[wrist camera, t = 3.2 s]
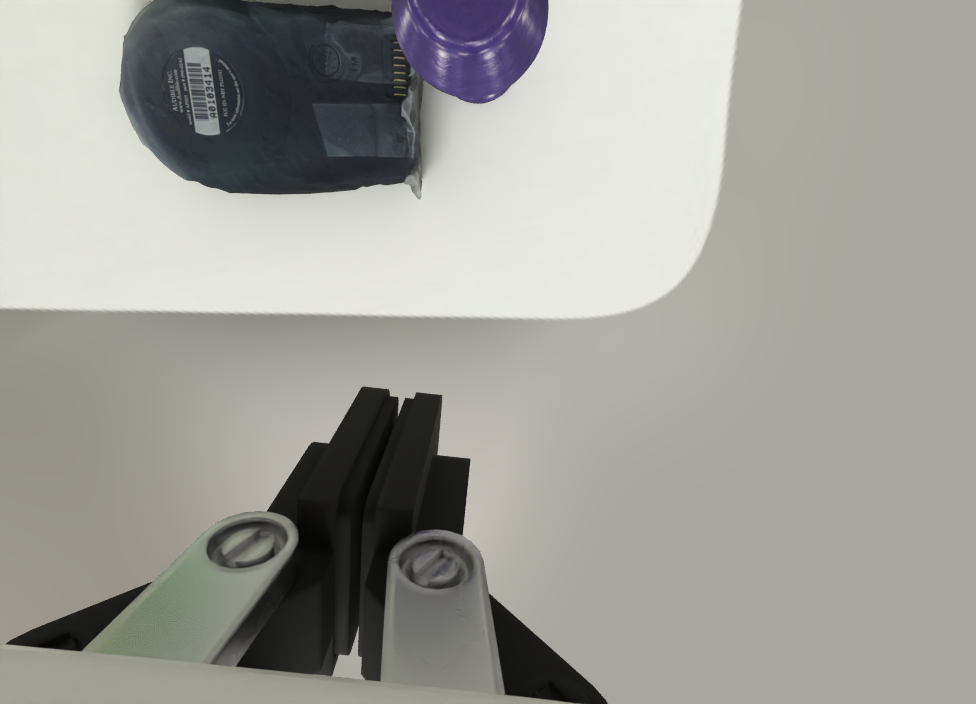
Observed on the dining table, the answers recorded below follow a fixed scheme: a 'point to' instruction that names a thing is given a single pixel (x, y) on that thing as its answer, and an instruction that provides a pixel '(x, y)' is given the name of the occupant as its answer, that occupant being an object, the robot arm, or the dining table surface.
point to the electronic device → (273, 96)
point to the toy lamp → (470, 42)
